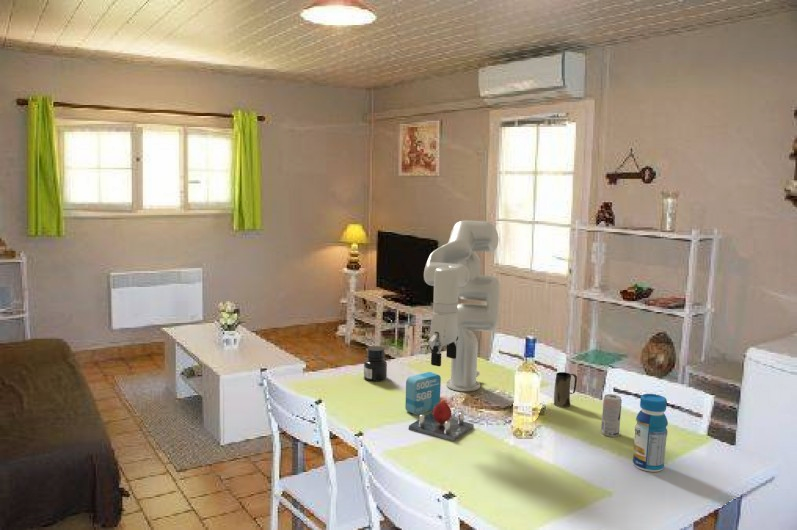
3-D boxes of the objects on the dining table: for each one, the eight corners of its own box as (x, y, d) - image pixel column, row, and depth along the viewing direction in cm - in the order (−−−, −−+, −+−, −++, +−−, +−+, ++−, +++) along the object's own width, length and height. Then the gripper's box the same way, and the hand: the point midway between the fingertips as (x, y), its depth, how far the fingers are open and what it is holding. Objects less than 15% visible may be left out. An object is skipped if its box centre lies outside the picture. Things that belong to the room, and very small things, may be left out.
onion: (438, 428, 202) (439, 403, 201) (428, 422, 207) (429, 398, 206) (454, 426, 204) (455, 401, 204) (444, 420, 210) (445, 396, 209)
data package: (413, 415, 216) (414, 380, 214) (404, 411, 219) (405, 377, 218) (440, 408, 224) (441, 374, 222) (431, 404, 227) (432, 370, 225)
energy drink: (620, 432, 206) (622, 395, 204) (617, 438, 201) (620, 401, 200) (602, 429, 208) (604, 393, 207) (599, 435, 204) (602, 398, 202)
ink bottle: (363, 374, 258) (363, 345, 256) (385, 374, 259) (386, 344, 257) (364, 382, 248) (364, 352, 246) (387, 382, 249) (388, 351, 247)
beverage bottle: (661, 475, 177) (667, 405, 174) (628, 467, 181) (634, 398, 178) (666, 464, 184) (672, 396, 181) (635, 457, 188) (641, 390, 186)
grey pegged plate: (429, 416, 215) (430, 402, 215) (473, 427, 207) (474, 413, 206) (408, 429, 205) (409, 414, 204) (454, 441, 196) (454, 426, 195)
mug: (550, 404, 230) (552, 371, 228) (559, 400, 234) (561, 368, 232) (569, 410, 224) (571, 376, 222) (578, 407, 228) (580, 373, 226)
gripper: (448, 301, 209) (446, 353, 212) (420, 310, 195) (419, 366, 198) (469, 304, 205) (467, 357, 208) (442, 314, 191) (440, 371, 194)
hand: (443, 361), depth 203 cm, fingers open, 9 cm apart
